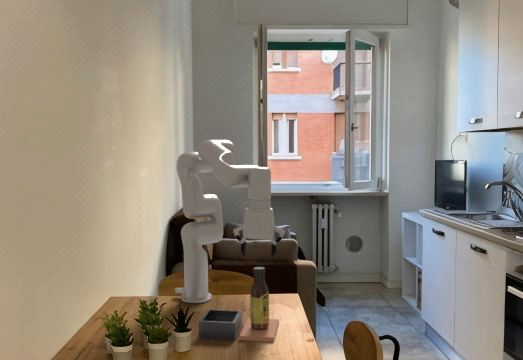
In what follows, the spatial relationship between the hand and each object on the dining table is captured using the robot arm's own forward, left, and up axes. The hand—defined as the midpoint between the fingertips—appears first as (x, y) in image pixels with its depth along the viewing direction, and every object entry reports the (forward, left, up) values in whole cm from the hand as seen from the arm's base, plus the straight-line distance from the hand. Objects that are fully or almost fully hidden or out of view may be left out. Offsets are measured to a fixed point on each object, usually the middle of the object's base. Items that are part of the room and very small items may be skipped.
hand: (258, 255), depth 159 cm
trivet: (0, 0, -26) cm, 26 cm away
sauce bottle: (0, 0, -25) cm, 24 cm away
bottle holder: (-13, -2, -26) cm, 29 cm away
